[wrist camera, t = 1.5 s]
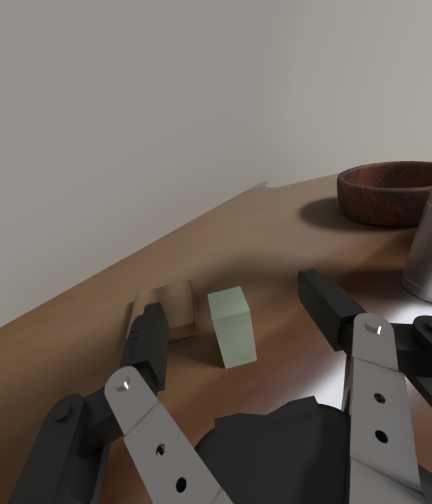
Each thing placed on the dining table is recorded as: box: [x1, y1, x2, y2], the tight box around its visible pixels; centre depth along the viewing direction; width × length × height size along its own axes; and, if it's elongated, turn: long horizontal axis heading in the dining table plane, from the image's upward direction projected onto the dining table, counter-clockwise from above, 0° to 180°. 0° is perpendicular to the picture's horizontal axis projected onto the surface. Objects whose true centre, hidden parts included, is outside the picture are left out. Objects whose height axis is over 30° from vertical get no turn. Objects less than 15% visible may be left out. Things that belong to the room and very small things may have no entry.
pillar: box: [207, 286, 257, 369], centre depth 29 cm, size 4×4×10 cm
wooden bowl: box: [337, 161, 432, 227], centre depth 56 cm, size 25×25×10 cm
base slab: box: [125, 280, 198, 342], centre depth 39 cm, size 11×11×3 cm
